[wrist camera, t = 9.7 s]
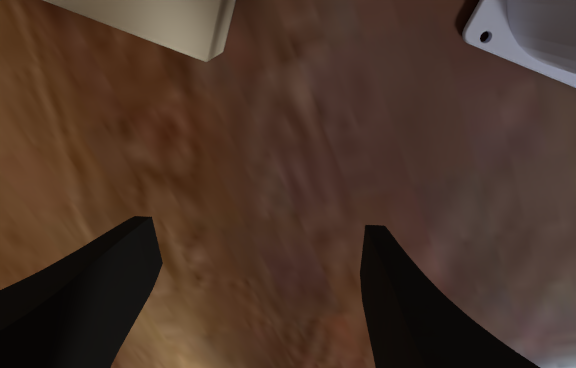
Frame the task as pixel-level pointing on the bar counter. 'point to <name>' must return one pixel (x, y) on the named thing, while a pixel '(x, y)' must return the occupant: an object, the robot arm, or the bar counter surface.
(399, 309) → the robot arm
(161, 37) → the birch block
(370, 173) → the bar counter surface
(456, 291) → the bar counter surface
